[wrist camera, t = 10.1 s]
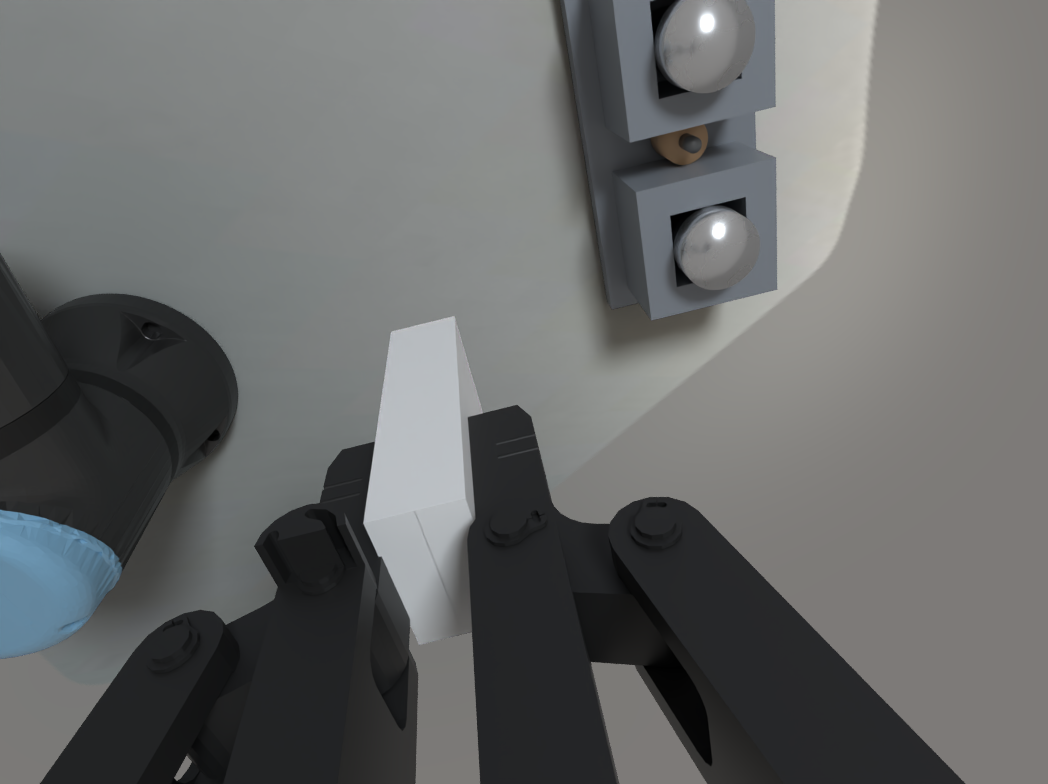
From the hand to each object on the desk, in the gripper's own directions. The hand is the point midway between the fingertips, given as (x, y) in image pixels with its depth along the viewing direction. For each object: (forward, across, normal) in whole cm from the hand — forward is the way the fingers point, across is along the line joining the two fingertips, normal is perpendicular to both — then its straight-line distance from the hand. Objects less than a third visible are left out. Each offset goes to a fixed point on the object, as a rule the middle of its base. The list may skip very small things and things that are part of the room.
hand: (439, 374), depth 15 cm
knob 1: (+32, +16, +3) cm, 36 cm away
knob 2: (+32, +16, -9) cm, 37 cm away
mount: (+34, +16, -3) cm, 38 cm away
